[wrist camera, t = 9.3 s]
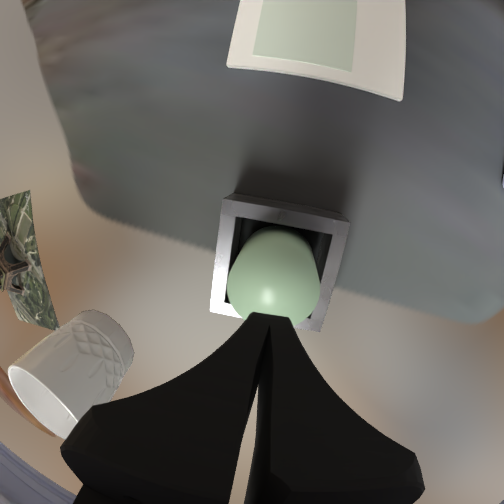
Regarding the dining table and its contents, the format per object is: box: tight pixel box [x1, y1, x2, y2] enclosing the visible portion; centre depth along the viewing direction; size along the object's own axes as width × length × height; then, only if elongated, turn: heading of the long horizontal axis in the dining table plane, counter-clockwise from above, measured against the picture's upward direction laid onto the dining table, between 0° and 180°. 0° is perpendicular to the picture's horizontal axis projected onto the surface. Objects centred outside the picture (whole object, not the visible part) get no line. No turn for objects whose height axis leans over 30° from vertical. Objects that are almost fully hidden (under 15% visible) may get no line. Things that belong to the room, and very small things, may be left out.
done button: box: [227, 225, 320, 326], centre depth 15 cm, size 4×4×4 cm
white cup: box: [8, 310, 134, 440], centre depth 18 cm, size 8×8×10 cm
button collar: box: [210, 193, 350, 332], centre depth 17 cm, size 7×7×3 cm
